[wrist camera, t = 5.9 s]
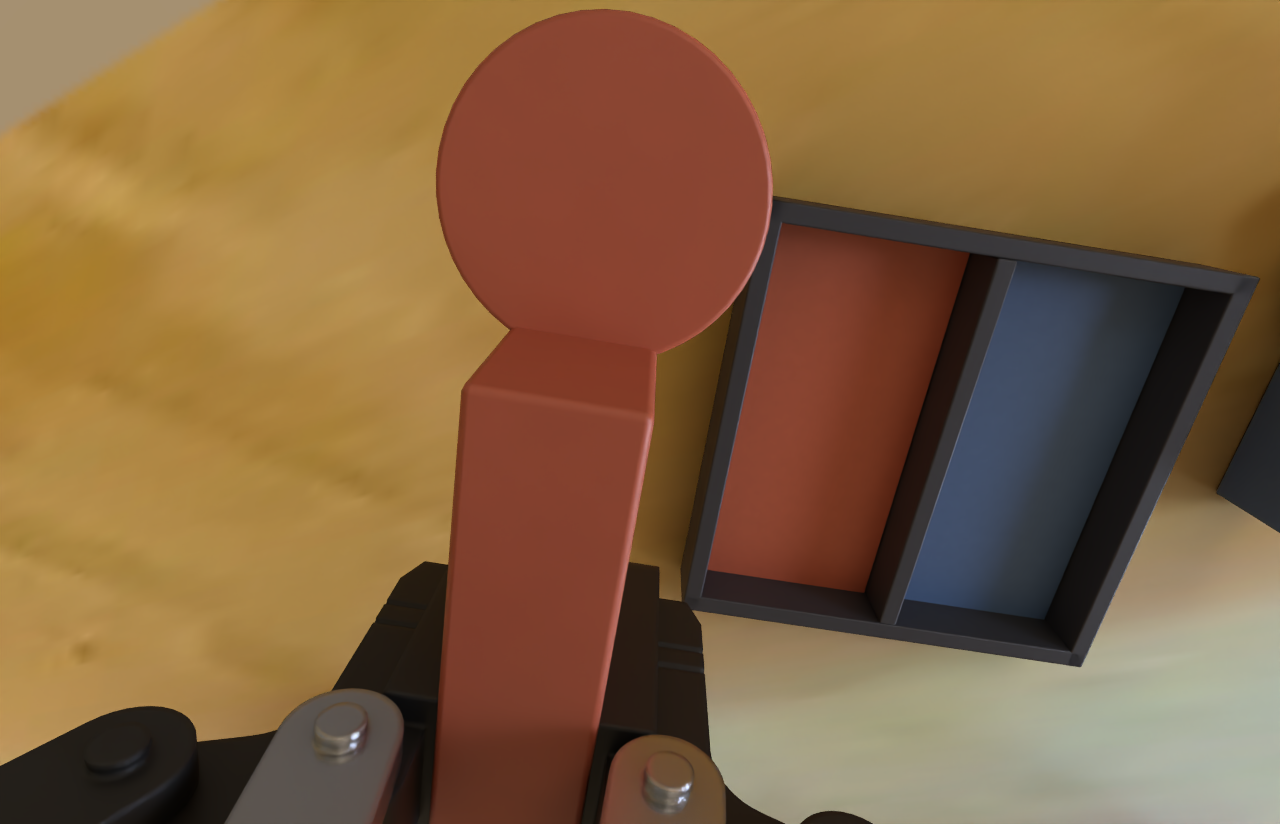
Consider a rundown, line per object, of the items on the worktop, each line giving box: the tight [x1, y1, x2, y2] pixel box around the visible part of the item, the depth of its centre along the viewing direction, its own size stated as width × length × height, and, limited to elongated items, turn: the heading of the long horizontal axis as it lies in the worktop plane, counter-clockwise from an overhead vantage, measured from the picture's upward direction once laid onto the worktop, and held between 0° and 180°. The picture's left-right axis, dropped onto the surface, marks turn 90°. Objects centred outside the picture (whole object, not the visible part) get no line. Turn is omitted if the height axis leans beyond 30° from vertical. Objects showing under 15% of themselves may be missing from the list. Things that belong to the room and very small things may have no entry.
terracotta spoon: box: [429, 9, 773, 824], centre depth 9 cm, size 4×11×4 cm, turn 171°
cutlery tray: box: [681, 196, 1260, 667], centre depth 24 cm, size 14×14×2 cm
